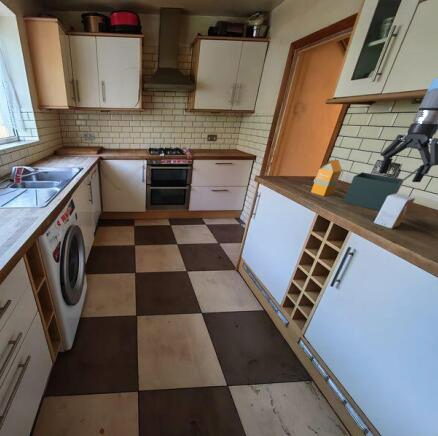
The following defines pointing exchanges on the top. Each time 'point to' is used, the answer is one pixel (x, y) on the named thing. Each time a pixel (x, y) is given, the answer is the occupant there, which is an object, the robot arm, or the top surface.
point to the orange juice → (327, 178)
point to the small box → (393, 210)
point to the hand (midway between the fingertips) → (397, 177)
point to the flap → (410, 175)
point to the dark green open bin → (371, 190)
